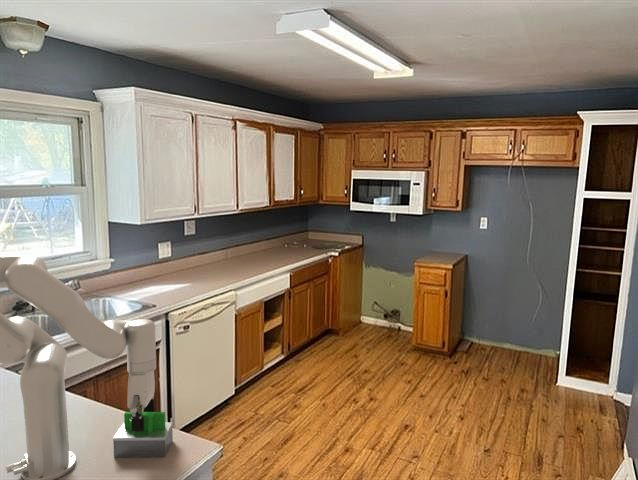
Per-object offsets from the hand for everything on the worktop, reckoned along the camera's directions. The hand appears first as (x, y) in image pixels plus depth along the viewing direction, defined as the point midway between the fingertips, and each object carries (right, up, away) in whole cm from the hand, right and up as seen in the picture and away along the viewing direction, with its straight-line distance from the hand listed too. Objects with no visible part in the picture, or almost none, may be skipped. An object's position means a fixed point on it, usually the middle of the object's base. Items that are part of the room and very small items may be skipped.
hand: (143, 421), depth 132 cm
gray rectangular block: (0, -8, +1) cm, 8 cm away
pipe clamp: (0, -3, 0) cm, 3 cm away
